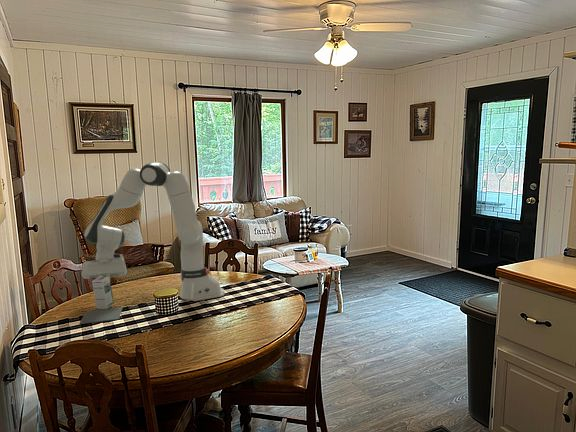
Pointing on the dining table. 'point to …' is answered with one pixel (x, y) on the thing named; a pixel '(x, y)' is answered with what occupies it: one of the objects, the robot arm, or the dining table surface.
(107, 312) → the mat
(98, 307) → the syrup box
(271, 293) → the dining table surface
